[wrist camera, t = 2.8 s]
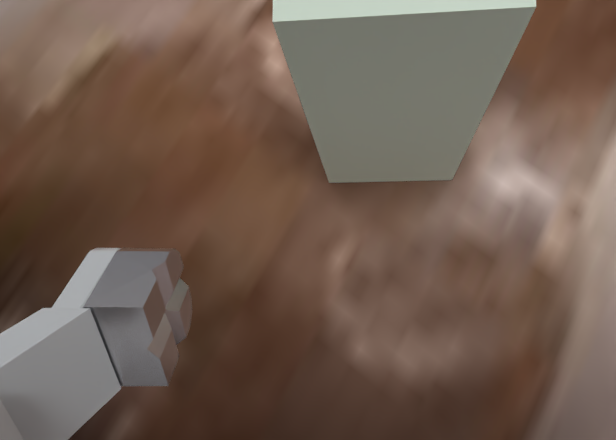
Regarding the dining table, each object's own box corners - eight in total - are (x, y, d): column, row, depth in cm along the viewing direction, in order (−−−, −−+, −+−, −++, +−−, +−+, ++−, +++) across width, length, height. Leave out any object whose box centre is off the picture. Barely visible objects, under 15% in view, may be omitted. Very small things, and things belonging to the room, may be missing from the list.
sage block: (328, 182, 24) (272, 21, 11) (329, 70, 25) (277, -195, 12) (452, 180, 24) (535, 6, 11) (447, 64, 24) (520, -220, 12)
